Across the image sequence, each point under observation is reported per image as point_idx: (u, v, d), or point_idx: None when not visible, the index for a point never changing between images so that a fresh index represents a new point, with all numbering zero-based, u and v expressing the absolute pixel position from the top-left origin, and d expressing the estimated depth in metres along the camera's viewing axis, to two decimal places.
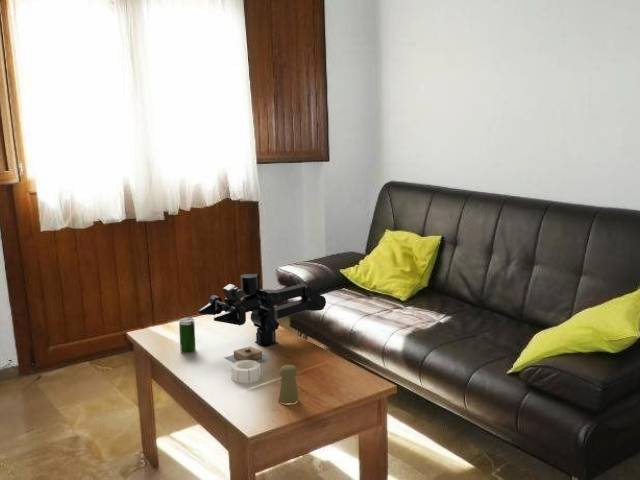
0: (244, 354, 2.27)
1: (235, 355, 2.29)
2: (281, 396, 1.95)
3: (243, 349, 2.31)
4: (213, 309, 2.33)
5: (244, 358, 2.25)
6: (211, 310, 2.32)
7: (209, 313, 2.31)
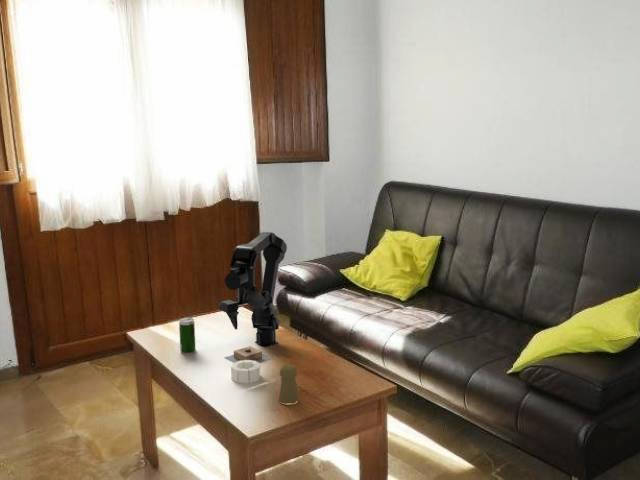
0: (244, 354, 2.27)
1: (235, 355, 2.29)
2: (281, 396, 1.95)
3: (243, 349, 2.31)
4: None
5: (244, 358, 2.25)
6: None
7: None
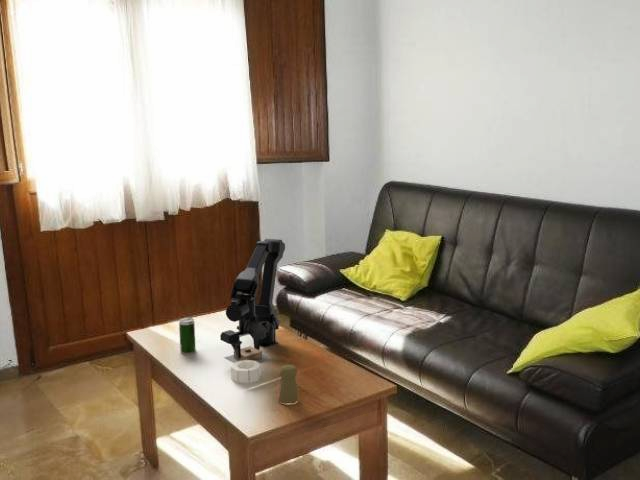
0: (244, 354, 2.27)
1: (235, 355, 2.29)
2: (281, 396, 1.95)
3: (243, 349, 2.31)
4: None
5: (244, 358, 2.25)
6: None
7: None
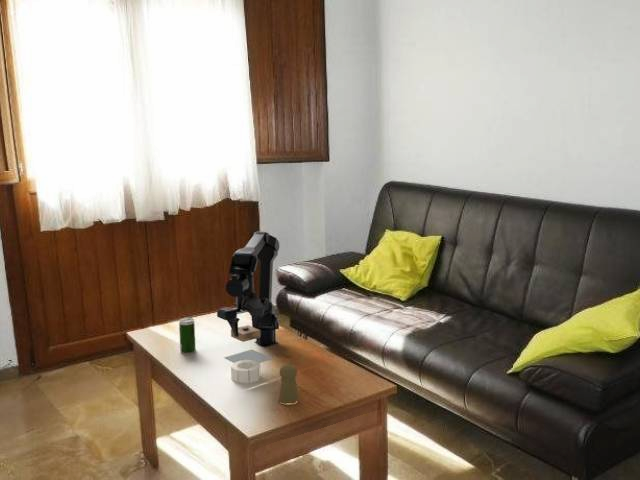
0: (242, 332, 2.18)
1: (232, 334, 2.20)
2: (281, 396, 1.95)
3: (241, 328, 2.22)
4: None
5: (241, 336, 2.16)
6: None
7: None
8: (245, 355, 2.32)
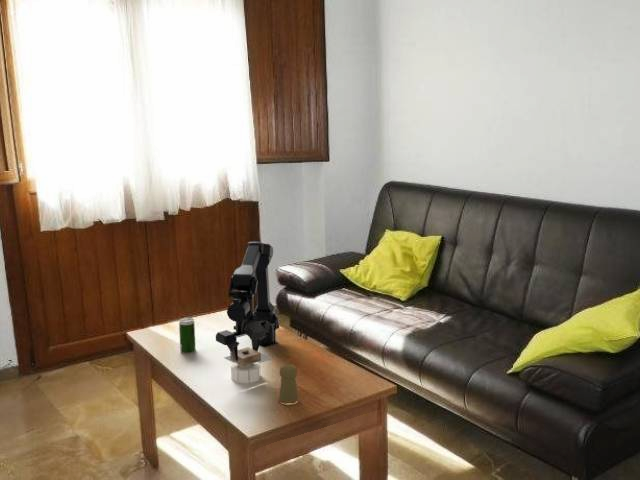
0: (242, 355, 2.09)
1: (232, 357, 2.12)
2: (281, 396, 1.95)
3: (240, 350, 2.14)
4: None
5: (241, 360, 2.08)
6: None
7: None
8: None
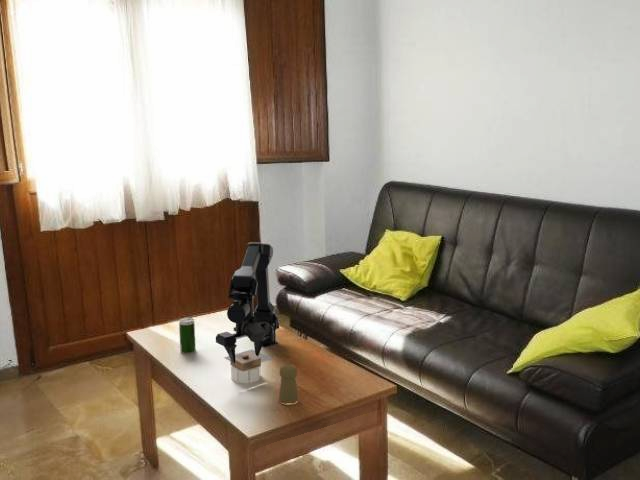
0: (242, 360, 2.10)
1: None
2: (281, 396, 1.95)
3: (240, 355, 2.14)
4: None
5: (241, 365, 2.08)
6: None
7: None
8: None
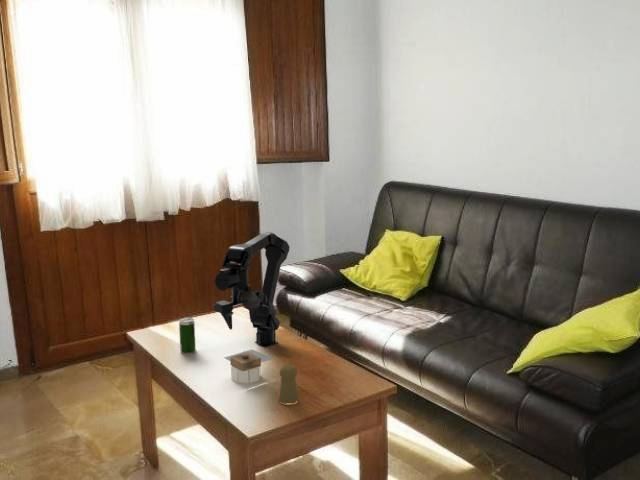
0: (242, 360, 2.10)
1: (232, 362, 2.12)
2: (281, 396, 1.95)
3: (240, 355, 2.14)
4: None
5: (241, 365, 2.08)
6: None
7: None
8: None
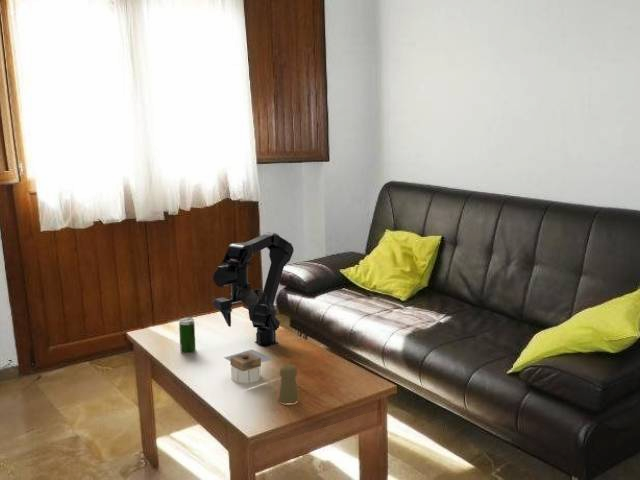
0: (242, 360, 2.10)
1: (232, 362, 2.12)
2: (281, 396, 1.95)
3: (240, 355, 2.14)
4: None
5: (241, 365, 2.08)
6: None
7: None
8: None
